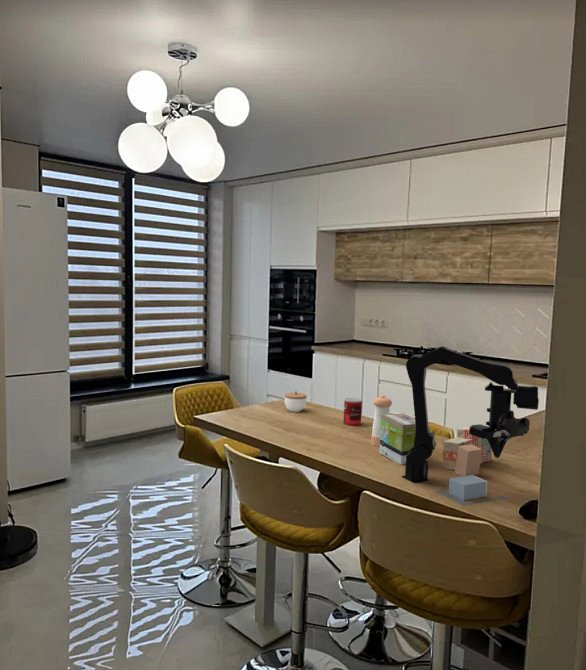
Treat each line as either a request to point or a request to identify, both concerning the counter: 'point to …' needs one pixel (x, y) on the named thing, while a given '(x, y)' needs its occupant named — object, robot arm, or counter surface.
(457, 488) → the slate blue block
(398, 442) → the tea box
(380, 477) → the counter surface
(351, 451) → the counter surface
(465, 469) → the dusty pink block
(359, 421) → the canned food
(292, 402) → the lidded jar
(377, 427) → the salt shaker
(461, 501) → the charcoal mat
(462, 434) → the stack of blocks
